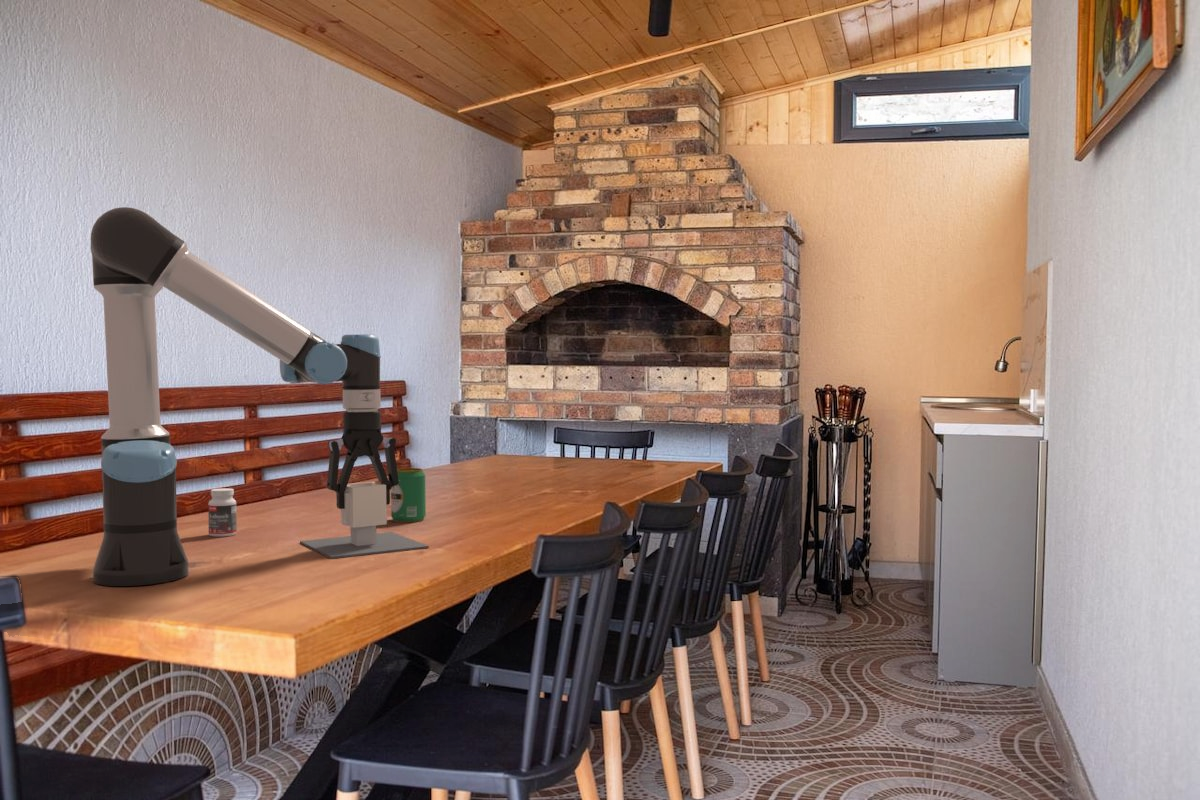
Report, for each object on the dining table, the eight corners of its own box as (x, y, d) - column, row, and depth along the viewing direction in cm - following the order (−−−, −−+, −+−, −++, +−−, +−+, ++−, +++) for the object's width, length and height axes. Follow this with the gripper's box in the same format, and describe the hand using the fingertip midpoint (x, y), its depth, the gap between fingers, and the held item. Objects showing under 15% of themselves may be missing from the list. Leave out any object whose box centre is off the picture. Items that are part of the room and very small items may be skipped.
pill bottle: (204, 537, 216) (203, 491, 216) (213, 532, 222) (213, 487, 222) (231, 537, 217) (231, 491, 216) (240, 532, 222) (239, 487, 222)
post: (331, 558, 192) (330, 502, 192) (300, 542, 209) (299, 491, 209) (428, 547, 203) (428, 495, 203) (391, 533, 220) (391, 484, 220)
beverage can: (385, 519, 240) (384, 469, 239) (414, 516, 245) (413, 467, 244) (402, 523, 234) (402, 472, 233) (432, 520, 239) (431, 469, 238)
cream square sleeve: (353, 527, 201) (352, 485, 201) (341, 523, 207) (340, 481, 207) (386, 524, 205) (386, 482, 205) (374, 519, 211) (373, 479, 211)
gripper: (319, 413, 197) (321, 530, 198) (415, 409, 208) (416, 520, 209) (307, 411, 203) (309, 525, 204) (401, 408, 214) (402, 515, 215)
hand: (363, 522), depth 206 cm, fingers closed on cream square sleeve, 7 cm apart
